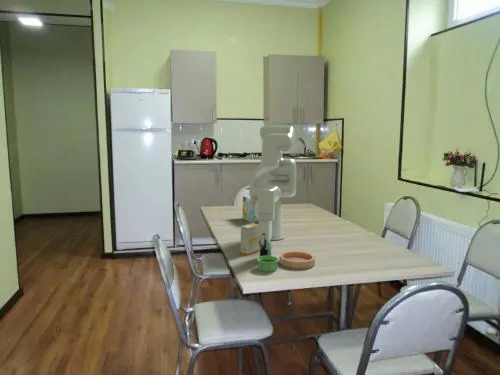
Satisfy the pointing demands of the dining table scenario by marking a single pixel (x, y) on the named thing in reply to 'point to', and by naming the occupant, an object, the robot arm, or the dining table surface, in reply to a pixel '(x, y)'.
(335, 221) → the dining table surface
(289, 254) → the round dish
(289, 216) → the dining table surface
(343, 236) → the dining table surface
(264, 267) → the ramekin
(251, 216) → the snack box
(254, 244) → the supplement box
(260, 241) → the teal tapered rounded piece
